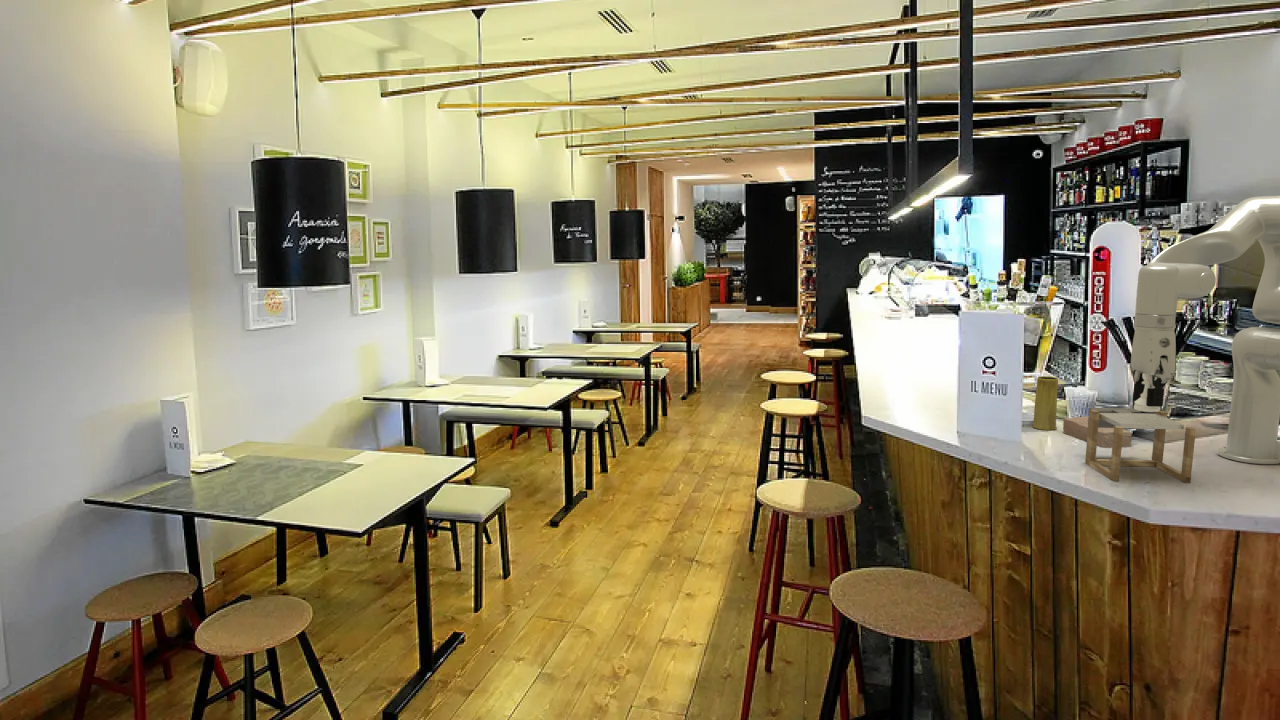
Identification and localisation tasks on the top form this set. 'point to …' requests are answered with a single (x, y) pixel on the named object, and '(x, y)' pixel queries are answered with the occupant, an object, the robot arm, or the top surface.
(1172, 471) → the frame
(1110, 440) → the brick
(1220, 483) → the top surface
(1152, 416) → the trapdoor
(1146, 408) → the chess pawn
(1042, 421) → the vase
